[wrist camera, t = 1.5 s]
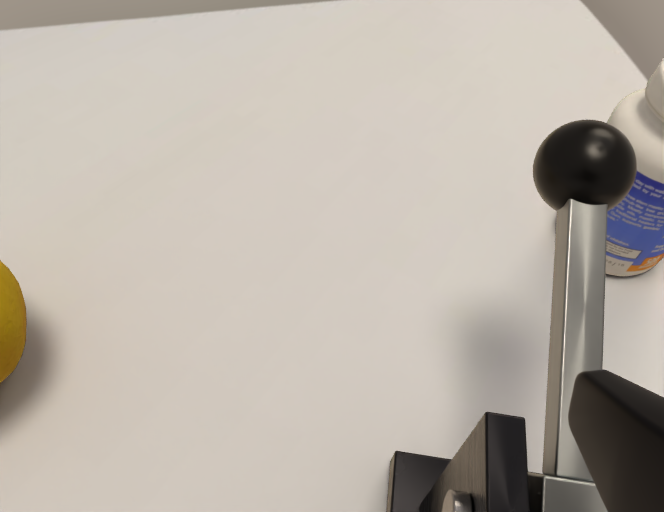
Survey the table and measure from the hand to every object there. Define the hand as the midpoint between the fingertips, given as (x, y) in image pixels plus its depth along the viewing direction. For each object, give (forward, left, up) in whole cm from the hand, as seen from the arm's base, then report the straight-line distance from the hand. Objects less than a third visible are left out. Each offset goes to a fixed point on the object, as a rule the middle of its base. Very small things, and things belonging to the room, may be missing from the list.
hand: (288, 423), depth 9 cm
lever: (0, -9, -7) cm, 12 cm away
